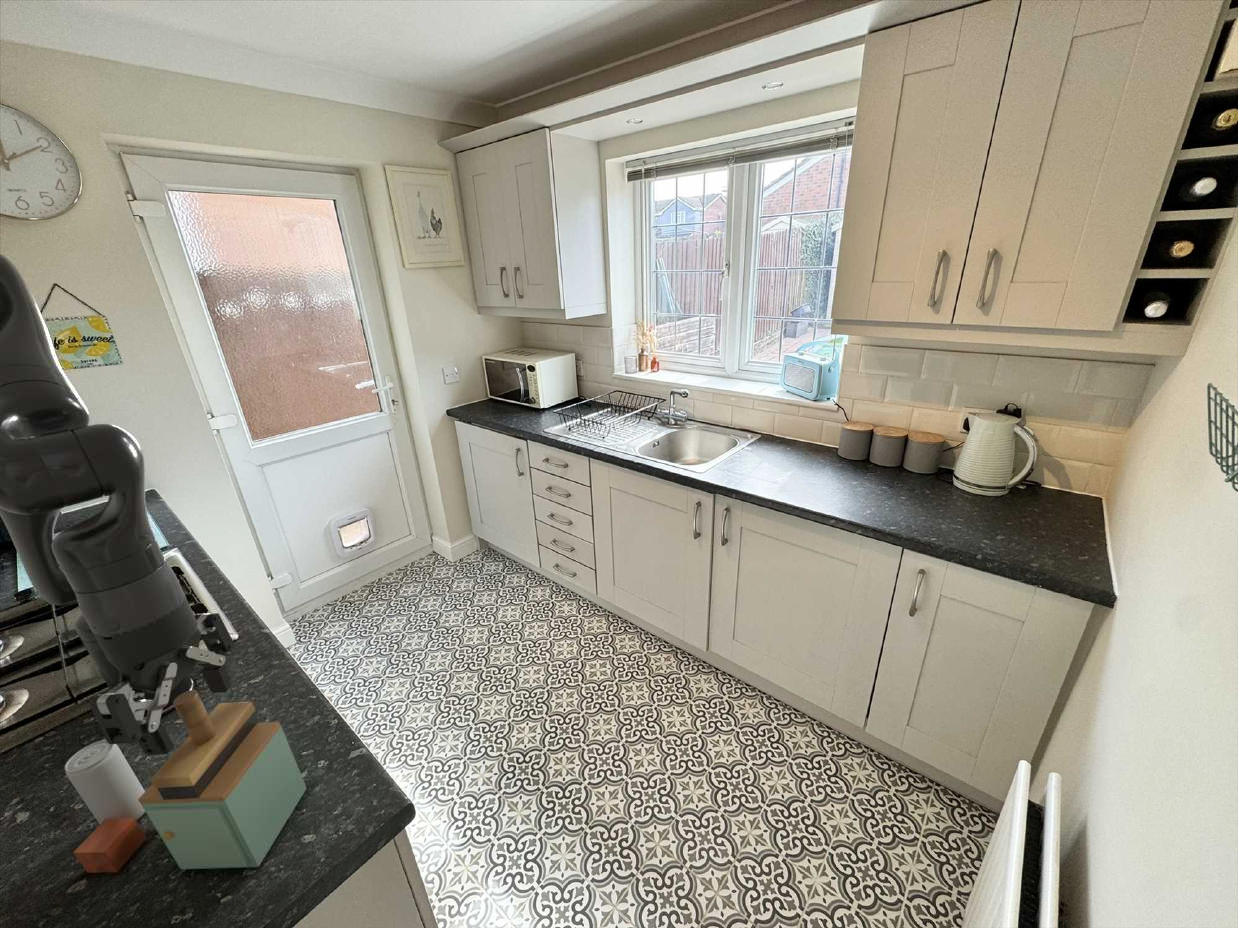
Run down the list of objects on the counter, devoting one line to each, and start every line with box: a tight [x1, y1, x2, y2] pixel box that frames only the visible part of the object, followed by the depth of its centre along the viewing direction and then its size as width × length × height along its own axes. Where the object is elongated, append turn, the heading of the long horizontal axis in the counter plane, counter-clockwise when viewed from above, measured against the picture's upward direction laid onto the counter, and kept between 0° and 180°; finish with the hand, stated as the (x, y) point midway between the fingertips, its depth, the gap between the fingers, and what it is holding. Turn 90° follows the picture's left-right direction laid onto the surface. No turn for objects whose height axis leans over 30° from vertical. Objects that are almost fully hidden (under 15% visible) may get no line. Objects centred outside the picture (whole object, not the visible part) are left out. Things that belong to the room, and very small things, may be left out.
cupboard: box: [138, 721, 308, 870], centre depth 62 cm, size 11×10×13 cm
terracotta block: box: [72, 818, 147, 873], centre depth 62 cm, size 4×4×4 cm
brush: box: [150, 689, 259, 800], centre depth 58 cm, size 4×10×10 cm, turn 1°
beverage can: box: [64, 739, 146, 825], centre depth 65 cm, size 5×5×12 cm
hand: (194, 718), depth 58 cm, fingers open, 8 cm apart
